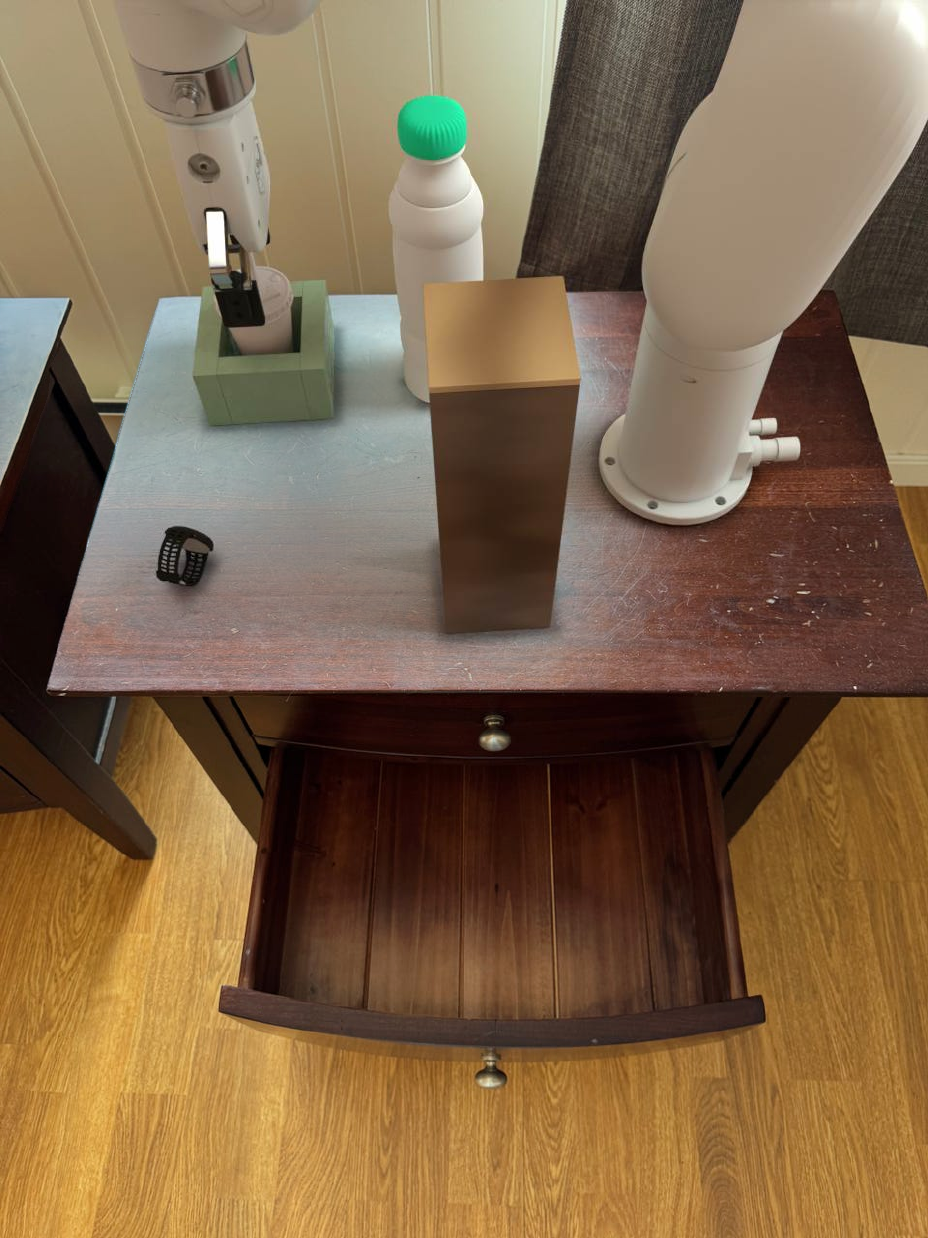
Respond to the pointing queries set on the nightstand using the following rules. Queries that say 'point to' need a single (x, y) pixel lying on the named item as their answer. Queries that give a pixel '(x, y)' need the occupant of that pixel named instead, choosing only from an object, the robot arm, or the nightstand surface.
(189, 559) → the smartwatch
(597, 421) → the nightstand surface
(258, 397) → the stand
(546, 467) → the riser
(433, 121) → the water bottle
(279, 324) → the smoothie
